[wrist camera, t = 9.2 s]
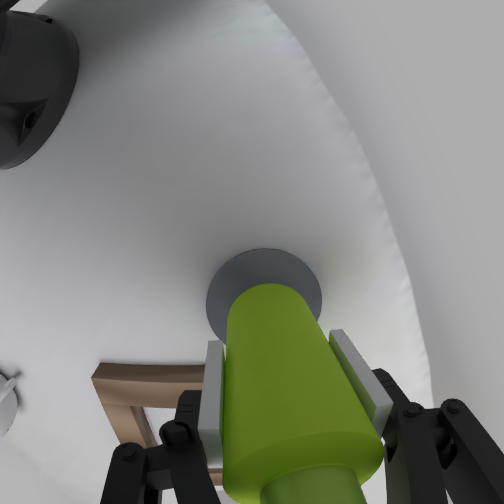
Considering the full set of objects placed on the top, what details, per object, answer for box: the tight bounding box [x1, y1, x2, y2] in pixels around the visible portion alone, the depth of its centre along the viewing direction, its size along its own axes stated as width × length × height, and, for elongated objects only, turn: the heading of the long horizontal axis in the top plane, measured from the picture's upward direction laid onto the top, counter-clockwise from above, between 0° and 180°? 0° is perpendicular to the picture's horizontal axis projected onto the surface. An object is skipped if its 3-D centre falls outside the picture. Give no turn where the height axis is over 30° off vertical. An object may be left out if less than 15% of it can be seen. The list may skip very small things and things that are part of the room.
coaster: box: [206, 249, 322, 345], centre depth 23 cm, size 9×9×1 cm
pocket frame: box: [91, 363, 223, 486], centre depth 25 cm, size 17×17×2 cm
